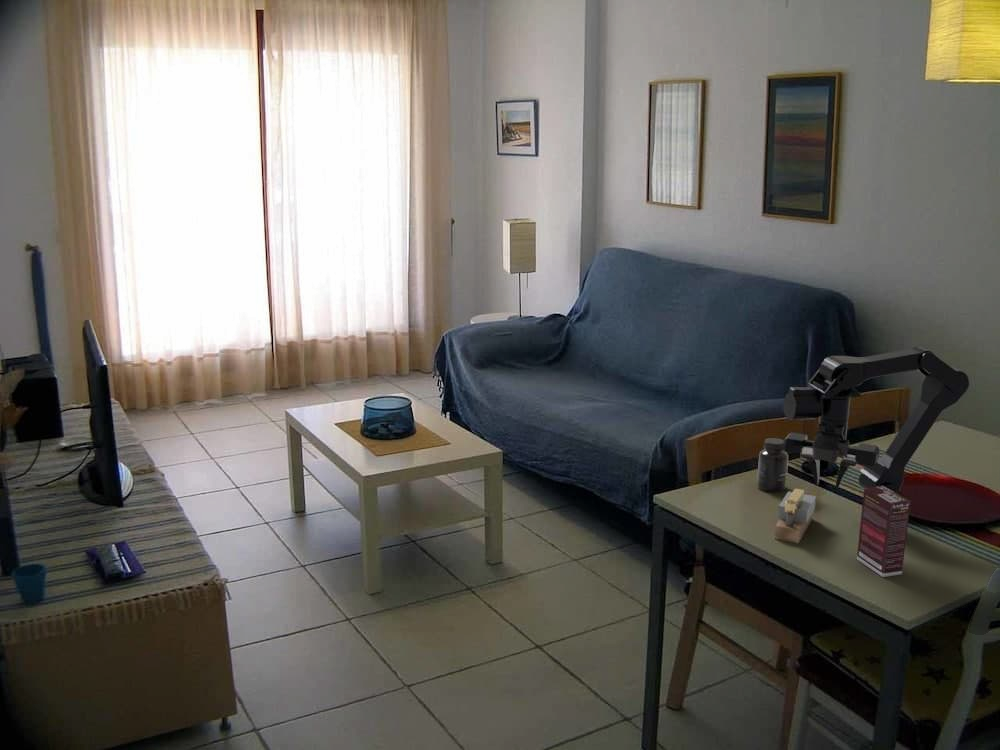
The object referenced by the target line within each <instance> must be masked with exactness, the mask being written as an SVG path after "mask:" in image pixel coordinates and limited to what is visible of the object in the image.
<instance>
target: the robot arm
mask: <svg viewBox="0 0 1000 750" xmlns="http://www.w3.org/2000/svg"><path fill="white" fill-rule="evenodd" d="M916 370H918V372H919V373H920V374H922V375H923V376H924V379H923V382H922V383H921V394H920V398H919V401H918V402H917V404H916V405H915V407H914V409H913V410H912V411H911V412H910V415H909V416H908V417H907V419H906V420H905V422H904V423H903V425H902V426H901V427H900V430H899V431H898V433H897V434H896V436H895V437H894V438H893V440H892V441H891V443H890V445H889V447H888V448H887V450H886V451H885V452H884V453H883V455H881V456H880V448H879V446H878V445H875V444H868V443H863V442H862V443H861V442H860V443H859V444H858V447H854V446H850V440H849V439H847V433H848V424H849V414H850V404H851V399H854V398H855V399H856V398H857V399H858V398H861V396H862V395H861V393H860V392H859V391H858V390H856V388H855V387H857V386H860V385H862V384H863V383H864V382H865V381H867V380H869V379H872V378H879V377H883V376H889V375H894V374H900V373H906V372H911V371H916ZM824 383H827V384H829V386H828V385H827V384H824ZM970 384H971V383H970V379H969V377H968V375H967V374H966V372H964V371H961V370H960V369H957V368H955V367H953V366H950V365H948V364H947V363H946V362H945V361H943V360H942V359H940V358H939V357H938V356H937V355H935V354H934V352H933V351H931V350H928V349H926V348H924V347H922V346H914V347H912V348H908V349H901V350H896V351H892V352H891V351H890V352H885V353H879V354H874V355H873V354H872V355H868V356H861V357H860V356H859V357H857V356H849V355H829V356H828V357H826V358H824V359H823V361H822V363H821V364H820V366H819V369H818V370H817V371H816V372H815V373H814V375H813V376H812V377H811V378H810V380H809V381H808V382H807V387H802V386H801V387H797V386H790V387H789V391H788V392H787V393H786V394H785V396H784V399H782V400H783V401H782V408H783V414H784V416H785V418H786V419H787V420H788V421H797V420H798V421H799V420H815V419H818V426H817V432H816V433H815V435H814V440H809V439H808V434H804V433H799V432H798V433H797V432H792V431H791V432H790V433H789V434H787V436H786V437H785V439H784V443H783V451H785V452H786V453H790V454H799V453H800V452H801V453H800V458H802V459H805V461H807V462H808V464H809V465H808V466H809V467H810V470H811V473H812V477H813V480H814V483H815V486H818V485H819V482H820V472H821V471H820V469H821V468H820V467H821V464H820V463H821V461H825V462H828V463H835V462H837V461H838V458H842V459H841V461H840V462H839V463H840V464H839V470H838V473H837V478H836V481H835V482H836V483H835V489H839V488H840V486H841V483H842V481H843V478H844V477H845V474H846V472H847V471H848V469H849V468H850V467H856V466H857V464H858V465H863V466H864V467H862V468H861V469H860V470H859V473H860V475H859V476H858V483H859V487H860V488H861V489H862V491H864V488H866V487H873V486H885V487H887V488H888V489H890V490H892V491H894V492H896V493H897V494H899V495H901V496H903V497H905V498H906V499H908V498H907V497H906V496H905V495H904V494H903V493H902V492H901V491H900V490H901V488H902V486H903V483H904V482H905V481H904V480H905V479H904V478H905V471H906V470H905V469H906V466H907V465H908V464H909V462H910V461H911V459H912V457H913V456H914V454H915V453H916V451H917V450H918V448H919V447H920V446H921V444H922V442H923V441H924V439H925V437H927V434H929V432H930V430H931V429H932V427H933V425H934V424H935V423H936V421H937V420H938V418H939V417H940V415H941V414H942V412H943V411H944V410H946V409H948V408H950V407H952V406H953V405H955V404H957V402H958V401H959V400H960V399H961V398H962V397H963V396H964V395H965V394H966V392H967V391H968V390H969V387H970Z"/></svg>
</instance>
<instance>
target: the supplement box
mask: <svg viewBox="0 0 1000 750" xmlns="http://www.w3.org/2000/svg"><path fill="white" fill-rule="evenodd" d="M905 497H906V496H905ZM905 497H903V496H901V495H899V494H897V493H896V492H894V491H892V490H890V489H888V488H887V487H885V486H873V487H866V488H864V490H863V498H862V505H861V506H862V507H861V516H860V523H859V524H860V525H859V533H858V534H859V535H858V543H857V544H858V545H857V553H856V560H857V561H859V562H860V563H862V564H863V565H865V566H866V567H868V568H869V569H870V570H872V571H873V572H875V573H877V574H878V575H879V576H881V577H882V578H887V577H888V578H889V577H893V576H900V575H902V574H903V567H904V558H905V549H906V544H907V535H908V527H909V519H910V509H911V502H912V501H911V500H910V499H908V498H907V497H906V498H907V499H906V498H905Z"/></svg>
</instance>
